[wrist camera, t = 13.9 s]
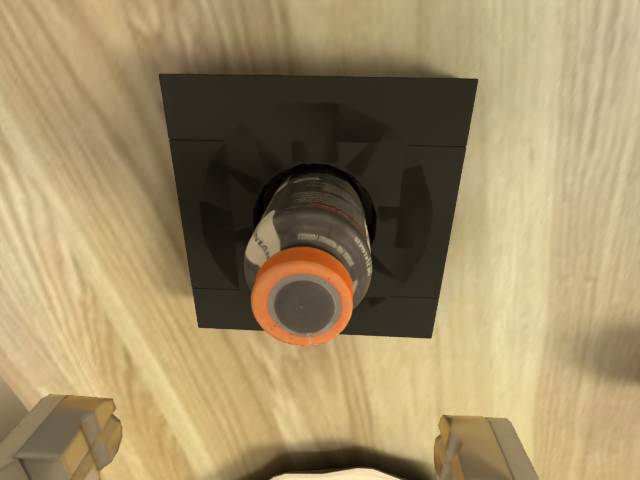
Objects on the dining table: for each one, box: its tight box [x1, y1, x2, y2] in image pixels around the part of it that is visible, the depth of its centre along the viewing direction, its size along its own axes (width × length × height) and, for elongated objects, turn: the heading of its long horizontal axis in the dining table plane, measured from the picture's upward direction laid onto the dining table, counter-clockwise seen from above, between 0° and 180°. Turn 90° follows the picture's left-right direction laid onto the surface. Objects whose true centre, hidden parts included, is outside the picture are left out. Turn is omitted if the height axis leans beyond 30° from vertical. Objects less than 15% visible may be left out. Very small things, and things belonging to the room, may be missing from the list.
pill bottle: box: [244, 165, 372, 346], centre depth 19 cm, size 6×6×11 cm
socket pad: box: [159, 74, 478, 338], centre depth 23 cm, size 16×16×3 cm
